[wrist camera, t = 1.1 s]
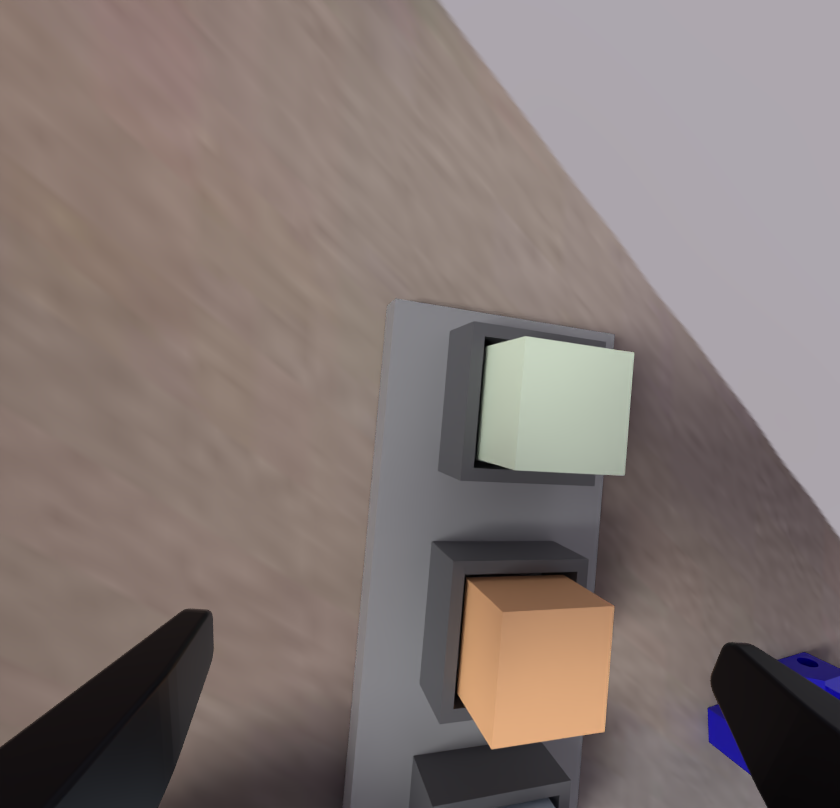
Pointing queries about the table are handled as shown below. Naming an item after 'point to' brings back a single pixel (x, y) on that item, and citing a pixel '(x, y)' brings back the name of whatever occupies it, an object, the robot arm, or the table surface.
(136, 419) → the table surface
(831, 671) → the cable holder
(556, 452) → the sage button
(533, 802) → the blue grey button
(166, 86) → the table surface
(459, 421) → the button panel
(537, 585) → the terracotta button
